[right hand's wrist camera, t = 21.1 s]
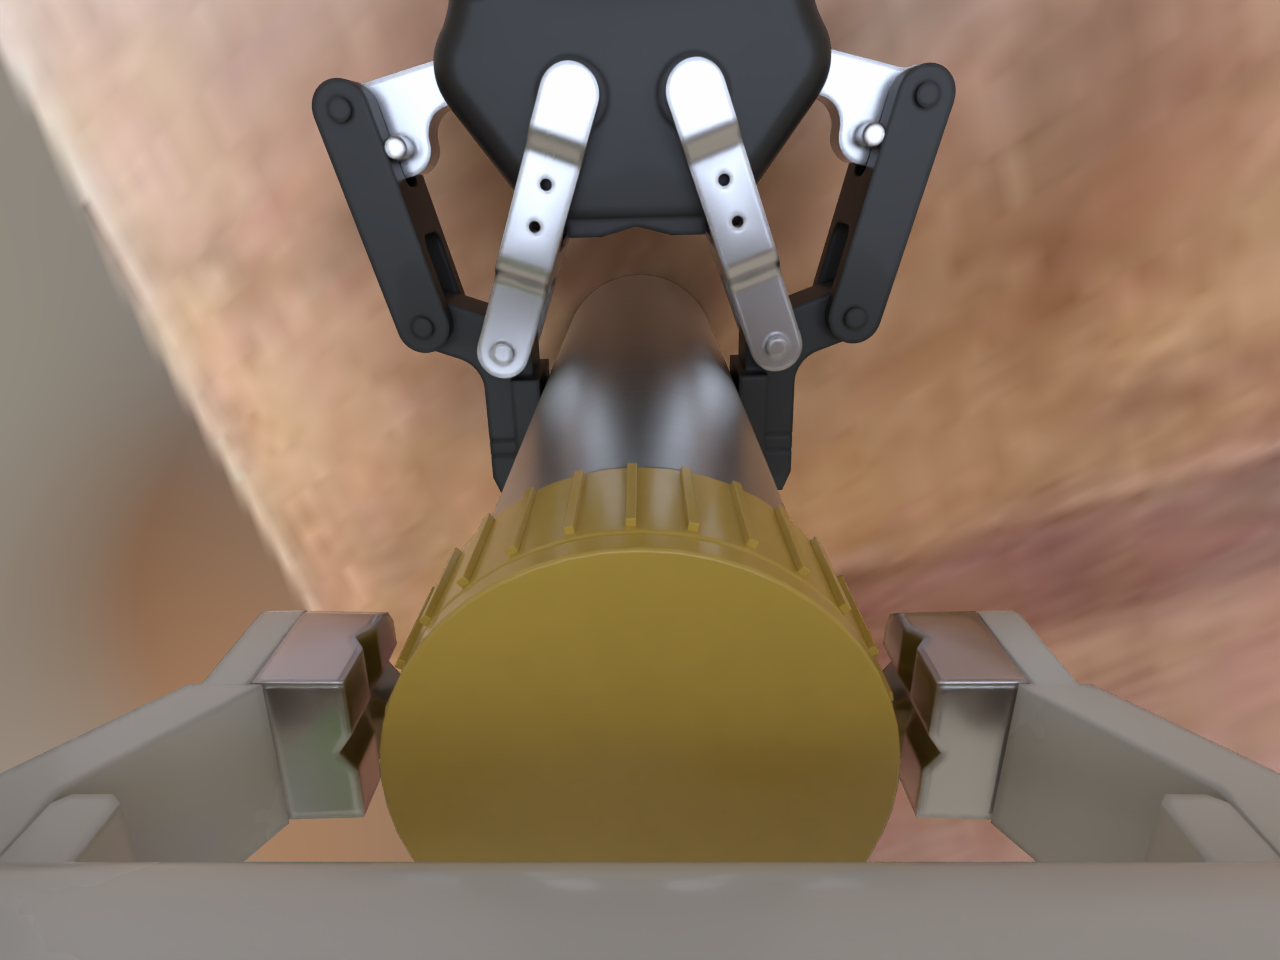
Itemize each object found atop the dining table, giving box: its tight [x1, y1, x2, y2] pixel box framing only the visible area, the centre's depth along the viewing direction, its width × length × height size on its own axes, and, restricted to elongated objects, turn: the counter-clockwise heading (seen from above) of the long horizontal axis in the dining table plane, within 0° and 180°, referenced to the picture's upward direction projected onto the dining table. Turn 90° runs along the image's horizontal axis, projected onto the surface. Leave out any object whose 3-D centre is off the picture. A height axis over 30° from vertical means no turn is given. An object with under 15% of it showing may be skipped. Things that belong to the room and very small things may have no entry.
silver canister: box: [492, 275, 789, 517], centre depth 18 cm, size 5×5×19 cm
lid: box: [379, 463, 901, 862], centre depth 9 cm, size 5×5×2 cm
